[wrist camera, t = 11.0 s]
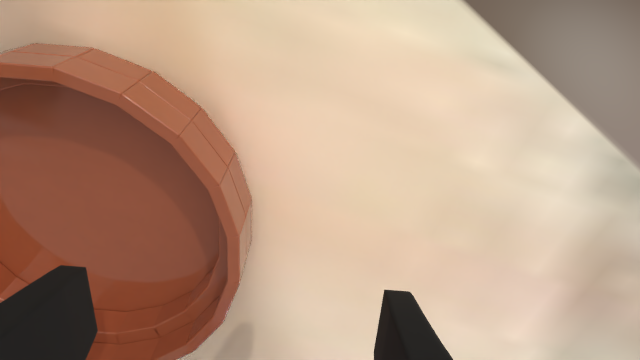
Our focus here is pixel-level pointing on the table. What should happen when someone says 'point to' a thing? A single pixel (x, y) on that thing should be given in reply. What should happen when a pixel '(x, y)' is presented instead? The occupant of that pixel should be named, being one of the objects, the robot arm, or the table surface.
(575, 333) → the table surface
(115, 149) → the bowl
